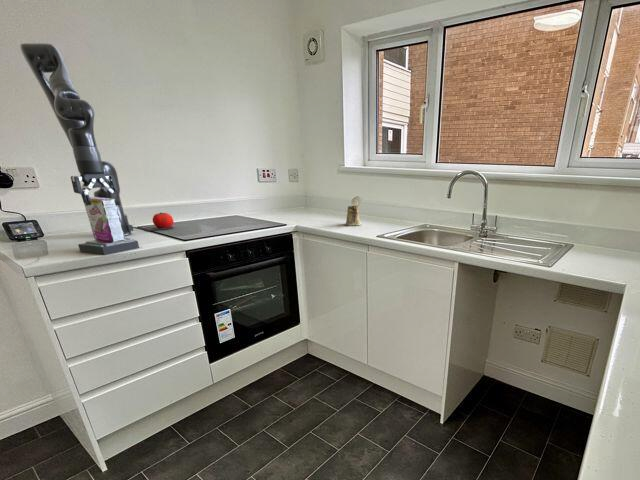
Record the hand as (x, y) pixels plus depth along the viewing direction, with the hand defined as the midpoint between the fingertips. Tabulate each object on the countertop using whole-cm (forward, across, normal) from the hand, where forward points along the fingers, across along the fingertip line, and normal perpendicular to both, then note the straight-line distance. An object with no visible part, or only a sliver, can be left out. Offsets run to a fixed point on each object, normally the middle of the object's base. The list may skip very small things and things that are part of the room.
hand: (100, 204), depth 136 cm
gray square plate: (+15, 0, 0) cm, 15 cm away
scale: (+18, -1, 0) cm, 18 cm away
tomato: (+18, +43, +22) cm, 52 cm away
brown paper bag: (+18, +100, -63) cm, 120 cm away
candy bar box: (+14, 0, 0) cm, 14 cm away
